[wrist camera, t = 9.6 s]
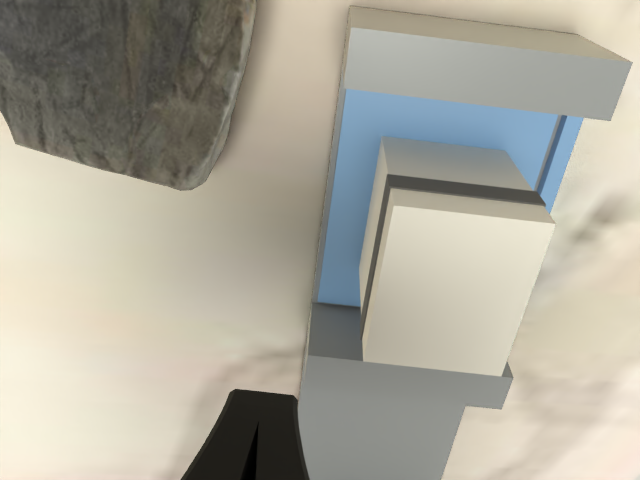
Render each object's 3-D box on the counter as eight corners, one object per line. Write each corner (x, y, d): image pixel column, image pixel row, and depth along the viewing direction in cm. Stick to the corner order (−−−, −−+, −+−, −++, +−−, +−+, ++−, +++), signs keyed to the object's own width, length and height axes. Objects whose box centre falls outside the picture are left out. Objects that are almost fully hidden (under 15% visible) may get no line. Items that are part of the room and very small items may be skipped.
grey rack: (436, 503, 29) (448, 580, 25) (287, 487, 28) (279, 563, 25) (593, 36, 17) (652, 65, 14) (349, 5, 17) (351, 27, 14)
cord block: (469, 281, 21) (502, 377, 16) (357, 268, 21) (361, 362, 16) (507, 149, 18) (559, 222, 14) (380, 134, 18) (392, 203, 14)
